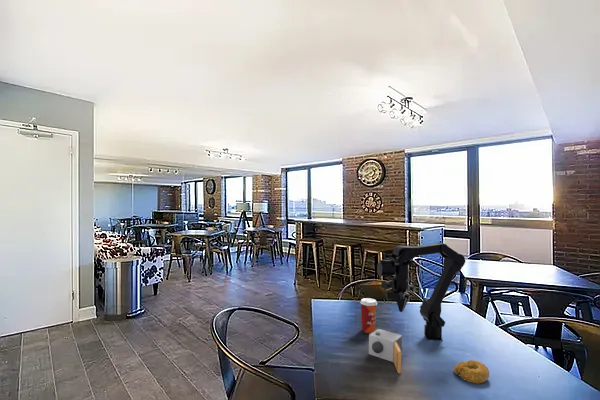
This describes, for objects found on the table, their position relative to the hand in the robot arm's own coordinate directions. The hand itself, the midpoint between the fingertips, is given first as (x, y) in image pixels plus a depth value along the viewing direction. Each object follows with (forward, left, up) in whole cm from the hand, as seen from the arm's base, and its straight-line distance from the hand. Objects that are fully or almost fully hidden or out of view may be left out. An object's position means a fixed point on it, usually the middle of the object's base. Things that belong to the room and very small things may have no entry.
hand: (401, 311), depth 145 cm
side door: (+3, +26, -12) cm, 29 cm away
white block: (+7, +16, -12) cm, 21 cm away
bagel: (-22, +25, -12) cm, 36 cm away
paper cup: (+14, -6, -12) cm, 19 cm away
